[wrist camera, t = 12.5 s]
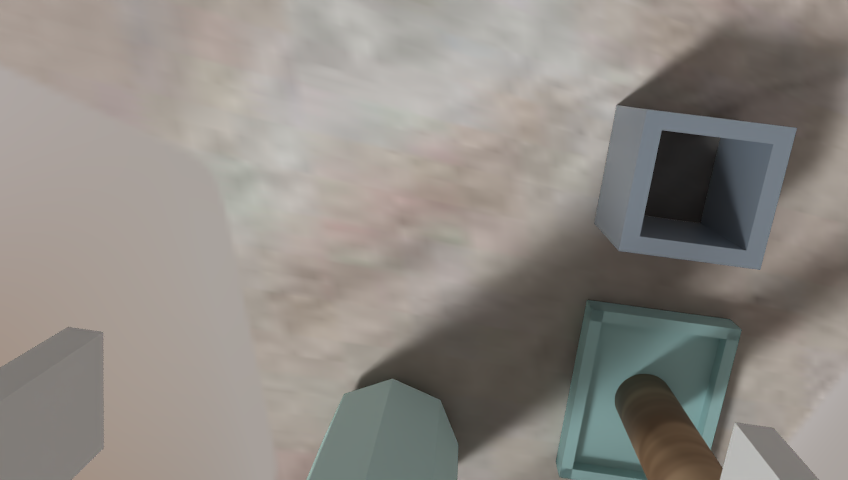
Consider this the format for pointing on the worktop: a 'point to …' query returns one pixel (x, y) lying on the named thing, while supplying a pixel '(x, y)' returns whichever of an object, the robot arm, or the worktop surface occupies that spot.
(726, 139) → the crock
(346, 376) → the worktop surface
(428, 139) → the worktop surface
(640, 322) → the tray
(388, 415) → the water bottle
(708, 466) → the dowel
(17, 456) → the robot arm
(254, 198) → the worktop surface
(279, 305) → the worktop surface
